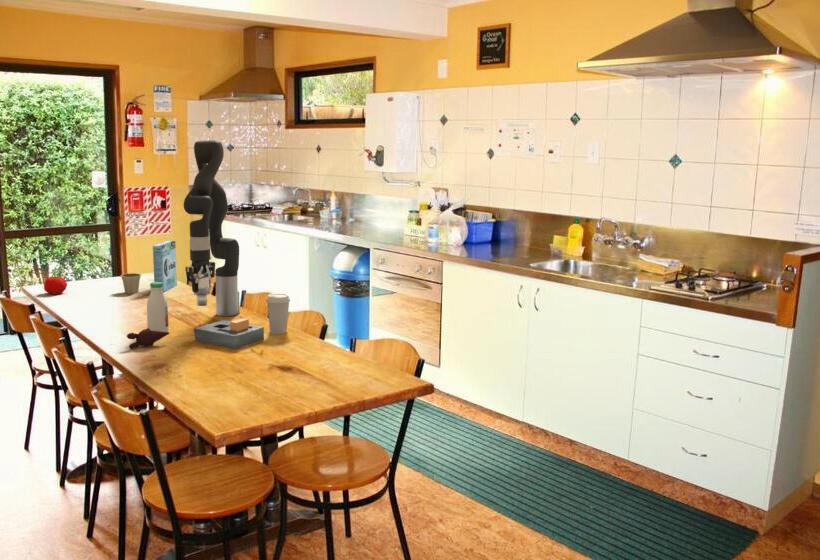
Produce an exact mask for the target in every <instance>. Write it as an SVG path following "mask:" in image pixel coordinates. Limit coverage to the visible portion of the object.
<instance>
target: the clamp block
mask: <svg viewBox="0 0 820 560" xmlns="http://www.w3.org/2000/svg"><path fill="white" fill-rule="evenodd" d="M230 321H231V320H230ZM249 325H250V320H249V319H248V318H243V317H242V318H239V319H234V320H232V321H231V322H230V330H233V331H236V332H238V331H241V330H244V329H247V328H249Z"/></svg>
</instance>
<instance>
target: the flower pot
mask: <svg viewBox="0 0 820 560" xmlns="http://www.w3.org/2000/svg"><path fill="white" fill-rule="evenodd" d="M141 276H142V274H141V273H136V272H135V273H134V272H131V273H123V274H121V275H120V277H121V280H122V284H123V290H124V294H128V295H129V294H138V293H139V289H140V280H141Z"/></svg>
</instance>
